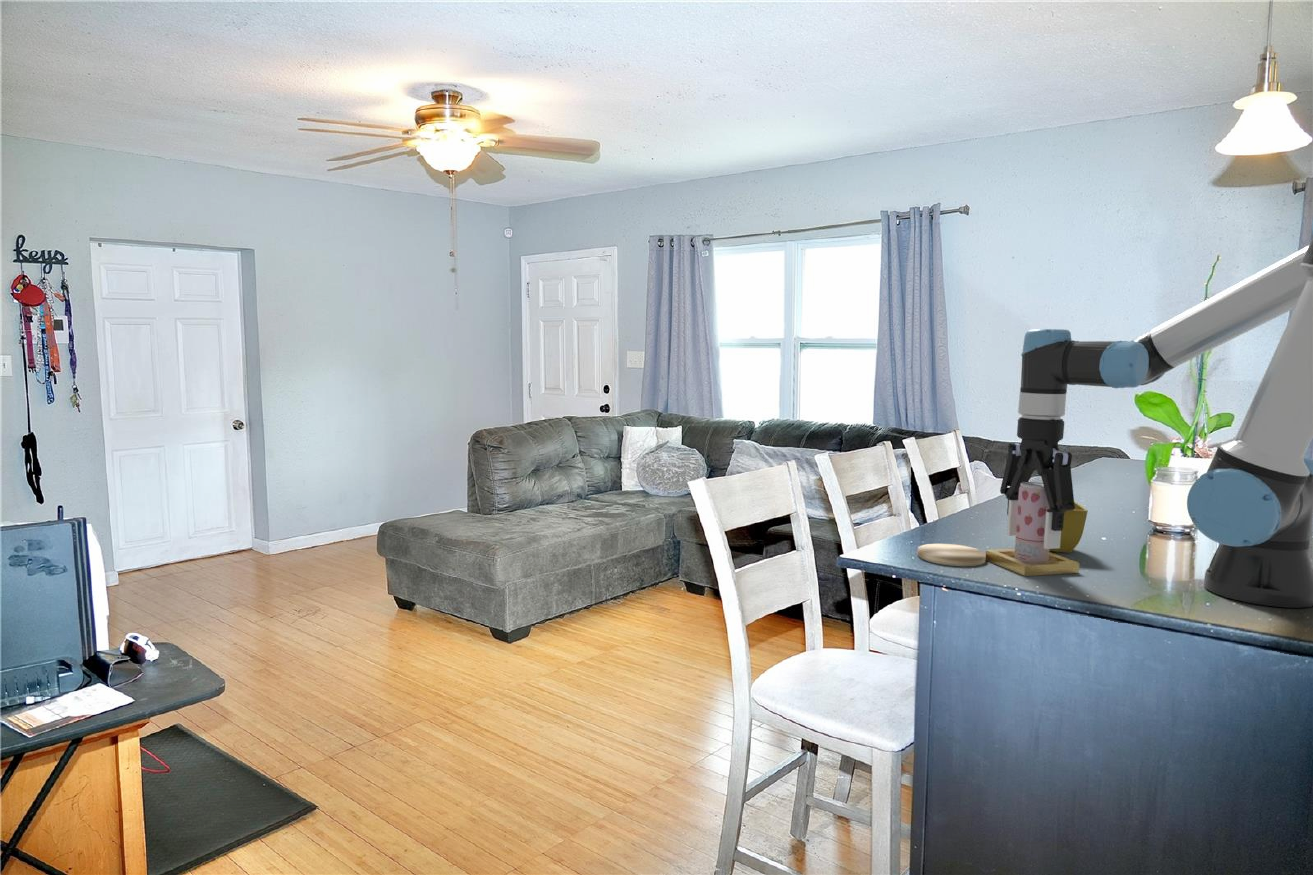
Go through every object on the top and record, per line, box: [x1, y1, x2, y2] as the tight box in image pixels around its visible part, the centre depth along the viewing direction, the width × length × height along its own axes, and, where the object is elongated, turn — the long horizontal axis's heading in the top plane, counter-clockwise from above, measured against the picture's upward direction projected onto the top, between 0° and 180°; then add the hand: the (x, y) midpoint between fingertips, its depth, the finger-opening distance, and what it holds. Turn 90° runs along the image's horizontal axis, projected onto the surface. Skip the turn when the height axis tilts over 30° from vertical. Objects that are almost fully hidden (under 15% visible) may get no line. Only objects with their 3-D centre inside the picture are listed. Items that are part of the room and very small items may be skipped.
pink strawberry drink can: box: [1014, 481, 1050, 563], centre depth 153 cm, size 6×6×15 cm
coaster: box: [917, 543, 987, 567], centre depth 159 cm, size 12×12×1 cm
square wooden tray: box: [985, 548, 1080, 577], centre depth 153 cm, size 11×11×2 cm
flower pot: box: [1049, 501, 1088, 553], centre depth 166 cm, size 9×9×9 cm
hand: (1032, 541), depth 153 cm, fingers open, 9 cm apart
